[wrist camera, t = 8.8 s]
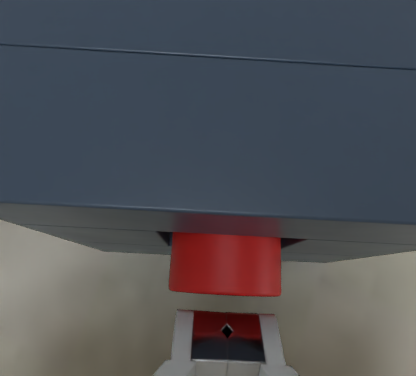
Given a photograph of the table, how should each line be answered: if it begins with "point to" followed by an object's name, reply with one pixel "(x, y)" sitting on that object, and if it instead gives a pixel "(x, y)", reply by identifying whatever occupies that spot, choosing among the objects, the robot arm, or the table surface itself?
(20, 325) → the table surface
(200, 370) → the robot arm
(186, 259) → the button
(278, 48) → the control box
